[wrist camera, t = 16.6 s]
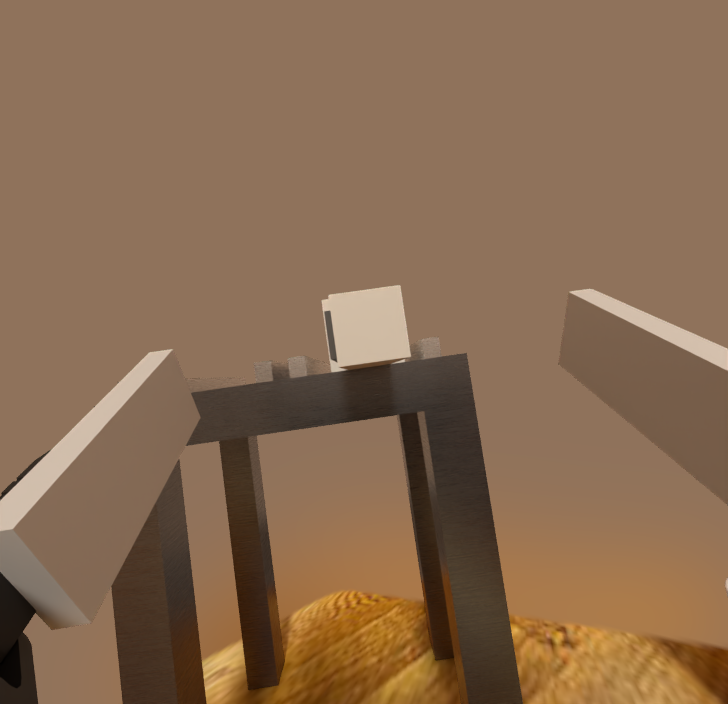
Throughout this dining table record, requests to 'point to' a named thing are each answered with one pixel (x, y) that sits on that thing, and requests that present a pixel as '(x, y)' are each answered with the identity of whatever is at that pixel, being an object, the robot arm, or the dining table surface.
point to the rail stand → (251, 538)
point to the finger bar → (366, 328)
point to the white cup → (726, 586)
